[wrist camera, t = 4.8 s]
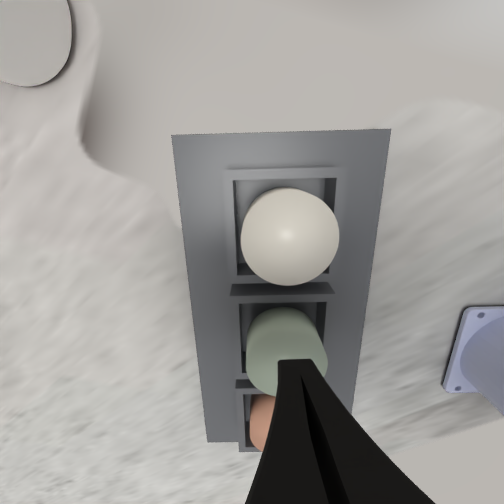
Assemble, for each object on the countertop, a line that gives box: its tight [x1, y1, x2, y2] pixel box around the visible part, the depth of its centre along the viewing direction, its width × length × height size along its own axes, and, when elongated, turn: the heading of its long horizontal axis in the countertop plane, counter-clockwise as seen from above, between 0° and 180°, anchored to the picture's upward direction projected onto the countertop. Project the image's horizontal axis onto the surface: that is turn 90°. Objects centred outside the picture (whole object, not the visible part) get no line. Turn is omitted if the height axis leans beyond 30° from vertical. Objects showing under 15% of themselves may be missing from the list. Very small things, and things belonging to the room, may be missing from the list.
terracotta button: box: [250, 394, 276, 452], centre depth 18 cm, size 4×4×2 cm
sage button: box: [246, 307, 328, 397], centre depth 14 cm, size 4×4×2 cm
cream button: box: [241, 187, 339, 286], centre depth 12 cm, size 4×4×2 cm
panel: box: [171, 129, 391, 452], centre depth 17 cm, size 12×24×4 cm, turn 1°
